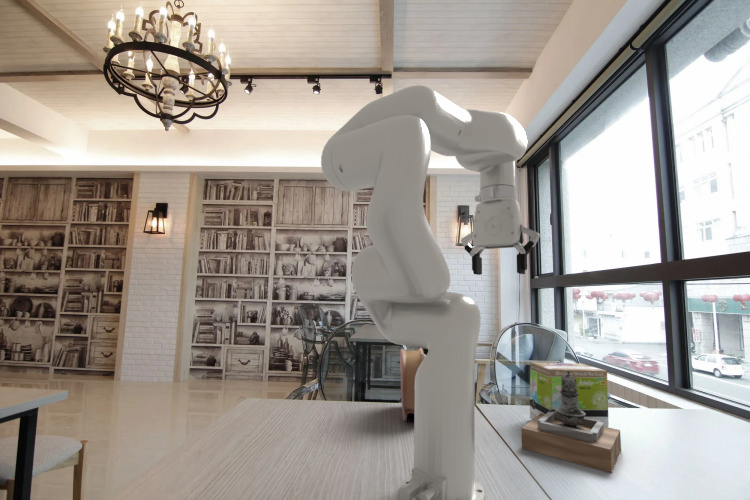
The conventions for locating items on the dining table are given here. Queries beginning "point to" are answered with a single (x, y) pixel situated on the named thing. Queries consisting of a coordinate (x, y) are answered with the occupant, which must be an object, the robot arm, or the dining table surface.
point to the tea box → (549, 386)
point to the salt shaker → (570, 404)
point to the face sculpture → (409, 378)
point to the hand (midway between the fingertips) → (498, 274)
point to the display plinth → (573, 441)
